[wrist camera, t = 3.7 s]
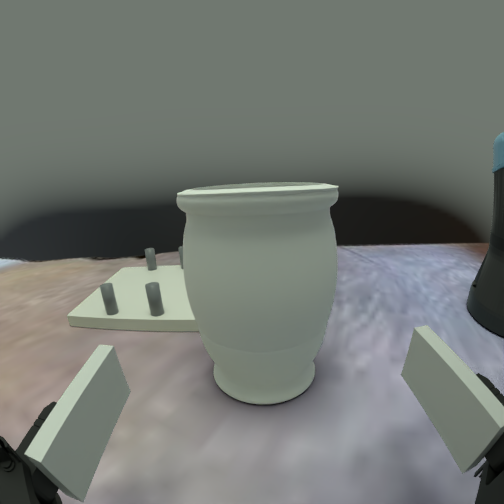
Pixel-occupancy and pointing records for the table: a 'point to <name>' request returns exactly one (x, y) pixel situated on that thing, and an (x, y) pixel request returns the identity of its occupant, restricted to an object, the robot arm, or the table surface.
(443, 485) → the table surface
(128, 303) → the tray
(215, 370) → the jar
